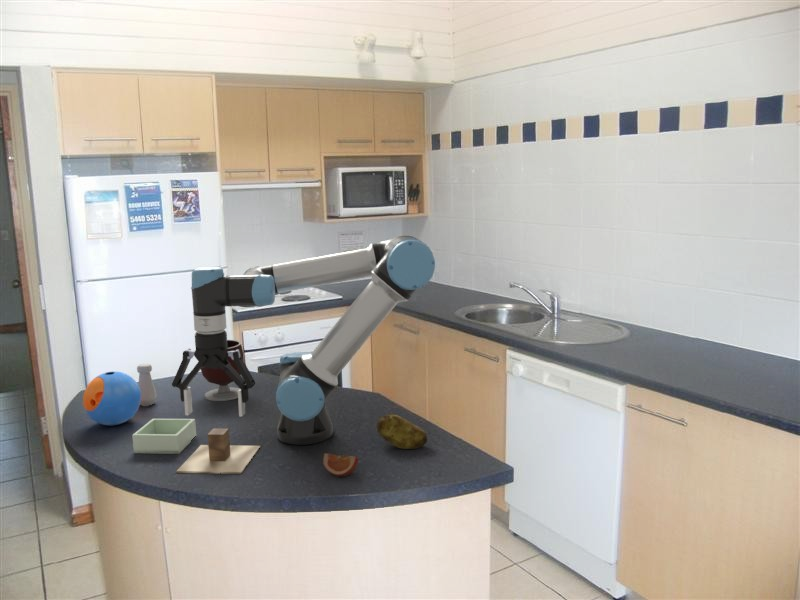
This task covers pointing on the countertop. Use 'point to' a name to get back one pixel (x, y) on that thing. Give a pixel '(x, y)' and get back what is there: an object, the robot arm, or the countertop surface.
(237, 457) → the lid
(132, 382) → the treat dispenser ball
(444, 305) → the countertop surface
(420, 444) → the potato
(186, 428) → the dish
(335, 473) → the fruit slice
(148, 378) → the salt shaker
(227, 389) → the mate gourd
